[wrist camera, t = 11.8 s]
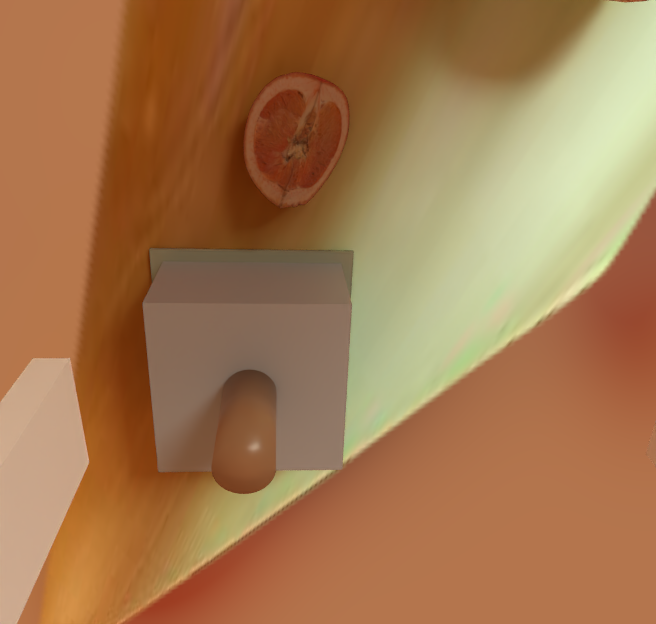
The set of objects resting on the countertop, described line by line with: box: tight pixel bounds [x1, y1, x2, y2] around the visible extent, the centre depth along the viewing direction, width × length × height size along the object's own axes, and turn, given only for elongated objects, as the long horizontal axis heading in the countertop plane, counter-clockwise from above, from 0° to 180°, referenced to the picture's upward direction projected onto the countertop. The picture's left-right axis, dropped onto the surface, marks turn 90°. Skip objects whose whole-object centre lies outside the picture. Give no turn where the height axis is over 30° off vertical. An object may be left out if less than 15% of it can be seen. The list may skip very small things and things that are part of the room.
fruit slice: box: [244, 72, 349, 208], centre depth 41 cm, size 8×7×5 cm
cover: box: [142, 261, 352, 494], centre depth 42 cm, size 13×13×16 cm
